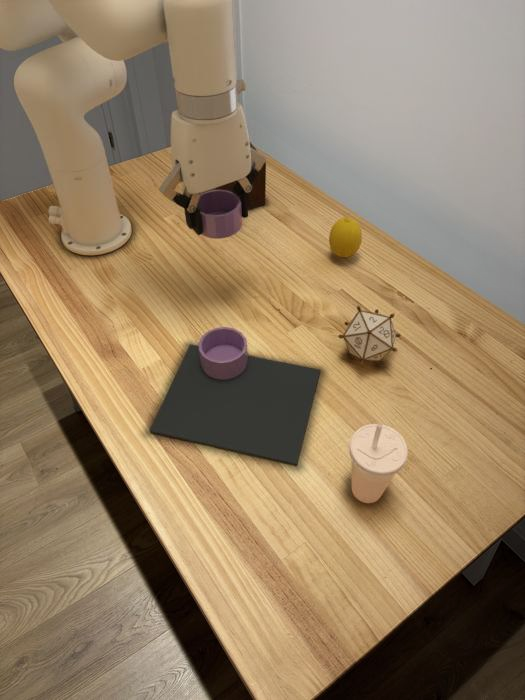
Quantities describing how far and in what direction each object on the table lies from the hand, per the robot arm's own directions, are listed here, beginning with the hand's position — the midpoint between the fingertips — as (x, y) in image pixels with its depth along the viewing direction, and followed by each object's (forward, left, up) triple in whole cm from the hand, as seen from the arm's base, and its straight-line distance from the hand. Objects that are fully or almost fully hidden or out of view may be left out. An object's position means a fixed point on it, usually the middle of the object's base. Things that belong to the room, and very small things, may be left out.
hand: (218, 220), depth 81 cm
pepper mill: (-5, +25, -14) cm, 30 cm away
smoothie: (+28, -30, -14) cm, 43 cm away
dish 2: (+5, -15, -14) cm, 21 cm away
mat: (+9, -21, -14) cm, 27 cm away
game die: (+25, -8, -14) cm, 30 cm away
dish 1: (0, 0, -1) cm, 1 cm away
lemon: (+18, +14, -14) cm, 27 cm away
